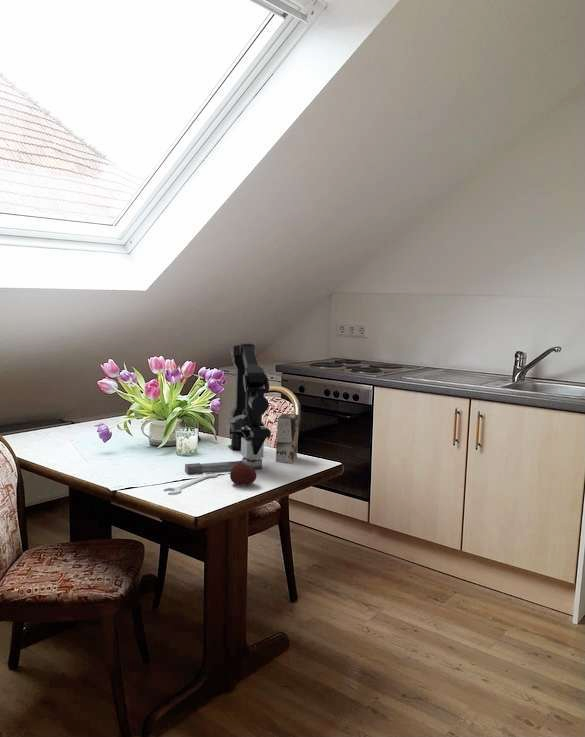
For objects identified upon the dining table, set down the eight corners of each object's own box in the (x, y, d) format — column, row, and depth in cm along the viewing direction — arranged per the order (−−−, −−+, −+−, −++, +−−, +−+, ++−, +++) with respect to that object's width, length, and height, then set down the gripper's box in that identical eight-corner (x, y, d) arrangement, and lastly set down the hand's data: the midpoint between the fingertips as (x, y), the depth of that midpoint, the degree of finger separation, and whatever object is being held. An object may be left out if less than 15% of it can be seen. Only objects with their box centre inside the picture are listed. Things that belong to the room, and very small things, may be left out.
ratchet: (183, 469, 219) (184, 449, 218) (257, 464, 230) (258, 444, 229) (188, 475, 213) (189, 454, 212) (264, 469, 223) (265, 449, 222)
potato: (253, 489, 202) (254, 467, 201) (227, 486, 203) (227, 465, 202) (258, 482, 209) (259, 461, 208) (233, 480, 210) (233, 459, 210)
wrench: (159, 495, 195) (173, 498, 193) (159, 490, 195) (173, 493, 193) (207, 474, 217) (221, 476, 215) (207, 469, 217) (221, 471, 215)
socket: (240, 453, 226) (241, 437, 225) (257, 452, 229) (257, 436, 228) (246, 458, 221) (247, 441, 220) (263, 457, 223) (263, 440, 222)
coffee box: (292, 463, 233) (294, 419, 231) (275, 461, 234) (276, 417, 232) (297, 457, 242) (299, 414, 240) (280, 455, 243) (282, 412, 241)
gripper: (223, 403, 228) (221, 446, 230) (240, 414, 211) (238, 461, 213) (253, 402, 232) (251, 445, 234) (272, 412, 215) (270, 458, 217)
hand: (252, 452), depth 225 cm, fingers closed on socket, 6 cm apart
